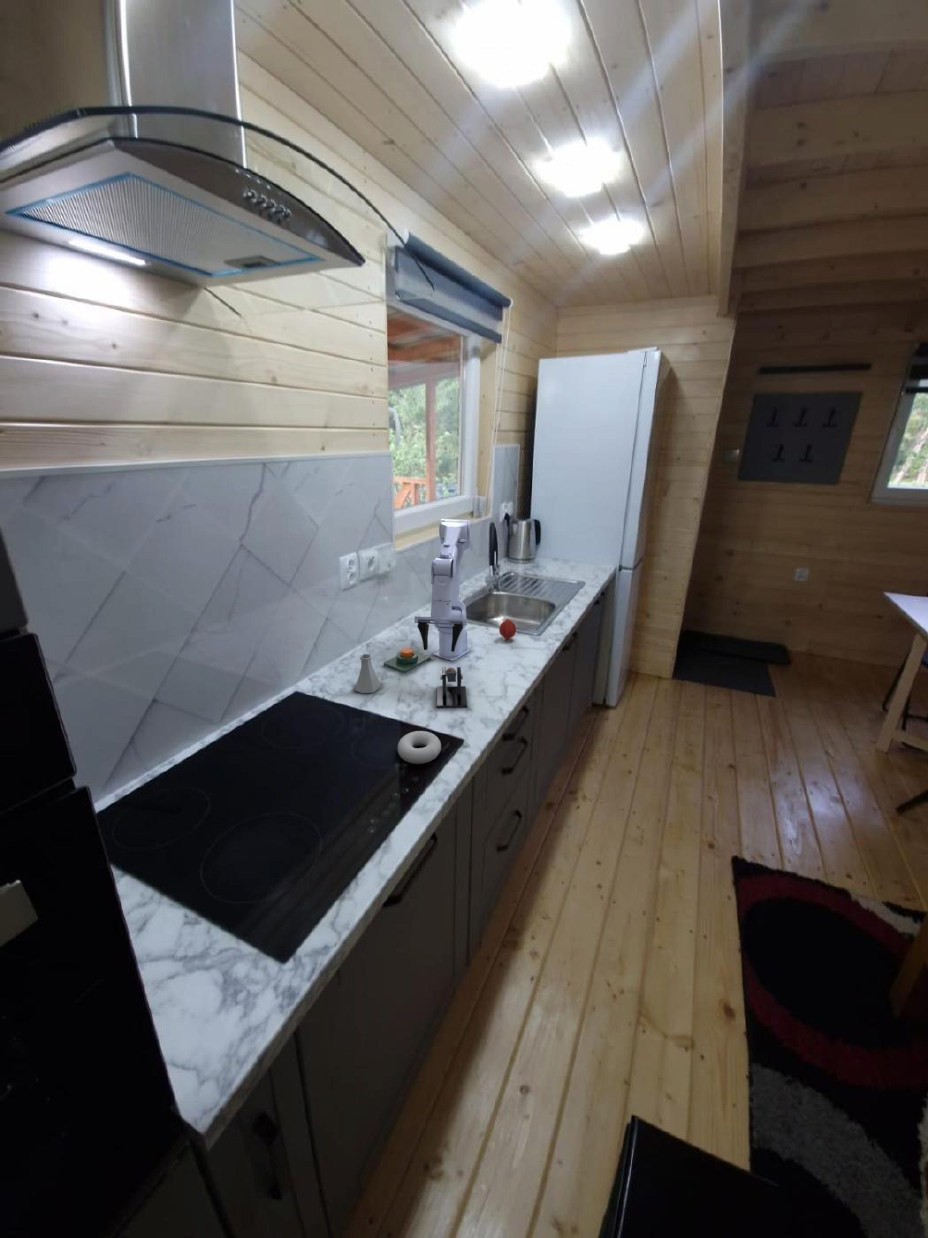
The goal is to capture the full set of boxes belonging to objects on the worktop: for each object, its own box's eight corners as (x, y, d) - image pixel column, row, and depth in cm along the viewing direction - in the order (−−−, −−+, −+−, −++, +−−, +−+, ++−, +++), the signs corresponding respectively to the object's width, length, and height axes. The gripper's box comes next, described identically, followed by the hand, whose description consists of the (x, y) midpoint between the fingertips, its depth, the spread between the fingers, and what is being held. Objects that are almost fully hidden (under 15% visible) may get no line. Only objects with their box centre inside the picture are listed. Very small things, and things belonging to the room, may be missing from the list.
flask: (375, 695, 137) (373, 663, 133) (350, 692, 138) (347, 660, 134) (384, 682, 143) (382, 651, 139) (360, 680, 144) (358, 649, 141)
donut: (410, 736, 119) (389, 760, 111) (409, 724, 118) (388, 747, 109) (448, 746, 116) (429, 771, 107) (448, 733, 115) (429, 758, 106)
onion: (499, 635, 175) (500, 614, 172) (515, 636, 174) (517, 615, 171) (498, 642, 170) (499, 620, 166) (515, 643, 169) (516, 621, 166)
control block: (409, 652, 162) (409, 644, 160) (430, 660, 157) (430, 651, 156) (383, 666, 153) (383, 657, 151) (405, 674, 148) (405, 665, 147)
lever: (445, 678, 142) (445, 667, 142) (456, 678, 142) (456, 667, 142) (445, 683, 131) (445, 671, 131) (457, 683, 131) (457, 671, 131)
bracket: (437, 690, 140) (436, 662, 136) (465, 689, 140) (465, 662, 137) (436, 709, 130) (436, 680, 127) (467, 709, 131) (467, 679, 127)
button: (406, 652, 156) (406, 647, 155) (415, 655, 154) (415, 650, 153) (398, 656, 153) (398, 651, 153) (407, 659, 151) (407, 654, 151)
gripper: (413, 599, 134) (410, 649, 134) (466, 602, 132) (463, 653, 132) (418, 600, 141) (415, 648, 141) (468, 603, 139) (466, 651, 139)
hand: (439, 650), depth 137 cm, fingers open, 7 cm apart
